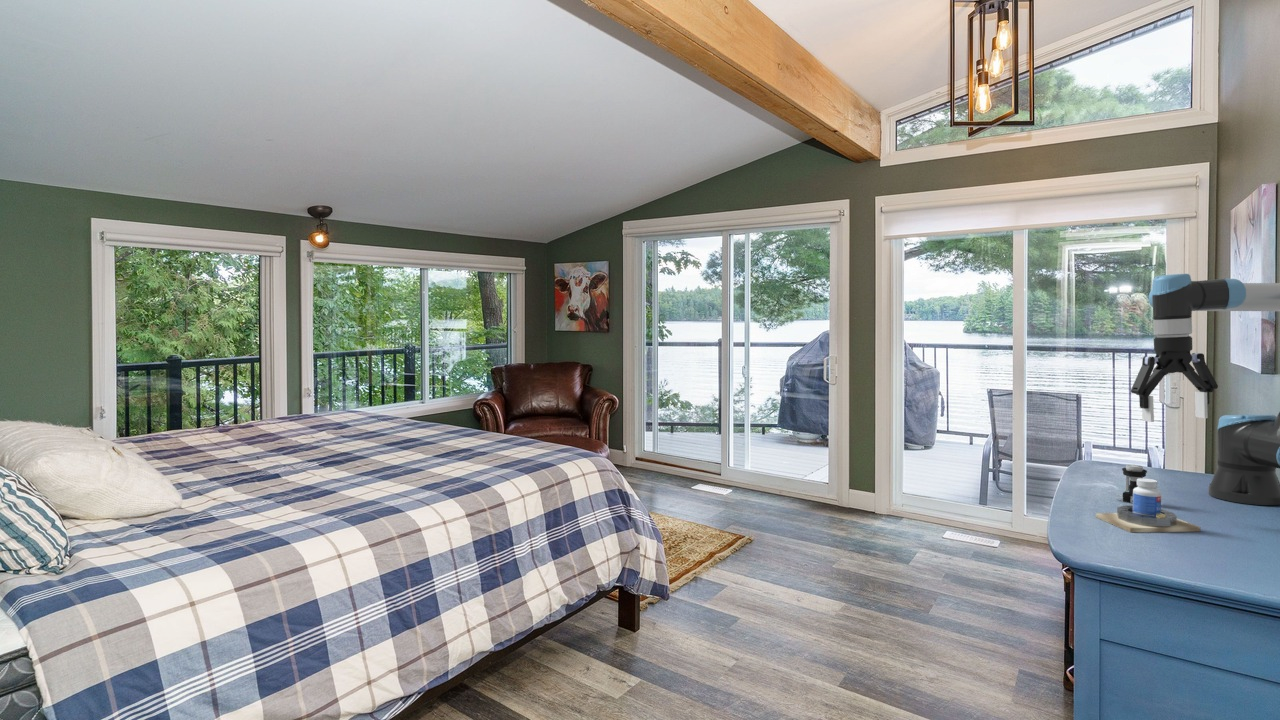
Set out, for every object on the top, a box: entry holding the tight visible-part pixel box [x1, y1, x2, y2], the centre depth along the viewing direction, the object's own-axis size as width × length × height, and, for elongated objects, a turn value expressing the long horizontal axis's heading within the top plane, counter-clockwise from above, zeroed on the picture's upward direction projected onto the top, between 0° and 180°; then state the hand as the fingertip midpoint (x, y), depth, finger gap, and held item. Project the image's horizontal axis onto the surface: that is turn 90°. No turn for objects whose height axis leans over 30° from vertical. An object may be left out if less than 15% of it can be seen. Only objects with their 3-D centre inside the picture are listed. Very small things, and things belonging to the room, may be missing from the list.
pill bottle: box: [1132, 477, 1162, 516], centre depth 156 cm, size 6×5×10 cm
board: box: [1095, 512, 1201, 533], centre depth 156 cm, size 16×12×1 cm
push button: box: [1115, 464, 1148, 504], centre depth 175 cm, size 7×5×10 cm
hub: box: [1116, 505, 1178, 527], centre depth 156 cm, size 11×11×3 cm
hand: (1174, 419), depth 163 cm, fingers open, 13 cm apart
